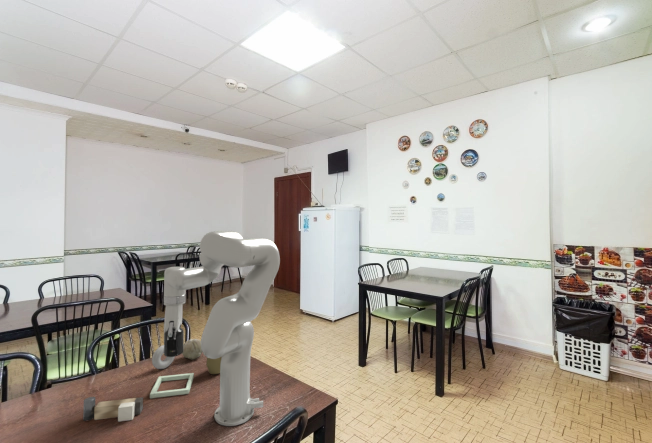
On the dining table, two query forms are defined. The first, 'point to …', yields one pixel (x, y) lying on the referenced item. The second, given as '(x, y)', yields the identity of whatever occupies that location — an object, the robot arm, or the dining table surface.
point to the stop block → (126, 411)
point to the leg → (115, 408)
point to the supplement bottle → (179, 343)
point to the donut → (157, 359)
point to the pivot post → (89, 408)
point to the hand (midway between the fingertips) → (173, 345)
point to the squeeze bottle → (213, 365)
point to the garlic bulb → (192, 349)
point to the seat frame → (172, 392)
